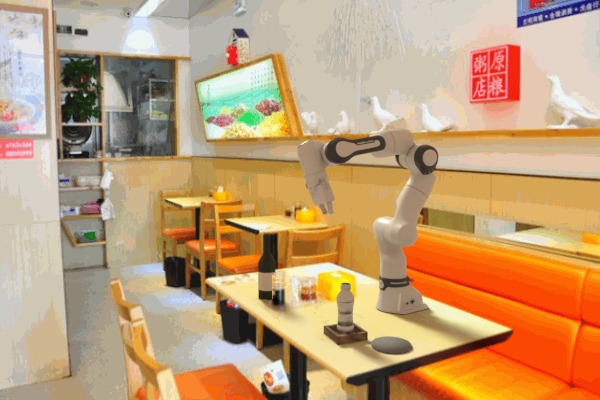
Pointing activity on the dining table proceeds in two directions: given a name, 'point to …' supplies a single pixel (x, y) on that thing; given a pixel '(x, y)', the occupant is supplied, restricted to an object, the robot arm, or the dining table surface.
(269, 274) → the wine bottle
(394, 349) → the serving mat
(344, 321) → the plastic bottle
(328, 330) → the bottle holder
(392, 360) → the dining table surface
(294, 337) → the dining table surface
